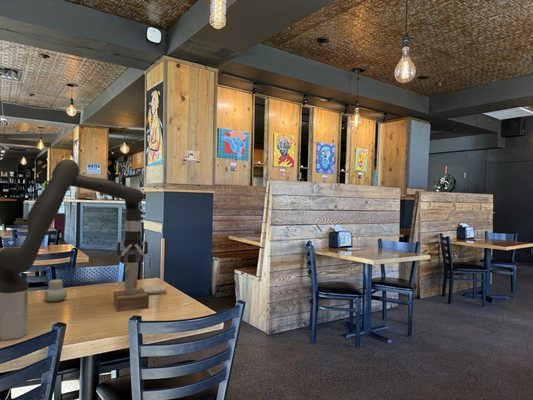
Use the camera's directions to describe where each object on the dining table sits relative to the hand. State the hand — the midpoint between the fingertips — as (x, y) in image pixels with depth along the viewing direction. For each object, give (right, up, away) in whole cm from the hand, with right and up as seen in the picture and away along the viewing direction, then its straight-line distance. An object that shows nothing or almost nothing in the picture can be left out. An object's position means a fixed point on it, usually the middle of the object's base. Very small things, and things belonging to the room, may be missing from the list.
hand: (132, 263), depth 180 cm
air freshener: (-40, -20, +5) cm, 45 cm away
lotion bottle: (-1, -15, 0) cm, 15 cm away
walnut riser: (-1, -21, 0) cm, 21 cm away
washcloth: (+1, -22, +29) cm, 36 cm away
